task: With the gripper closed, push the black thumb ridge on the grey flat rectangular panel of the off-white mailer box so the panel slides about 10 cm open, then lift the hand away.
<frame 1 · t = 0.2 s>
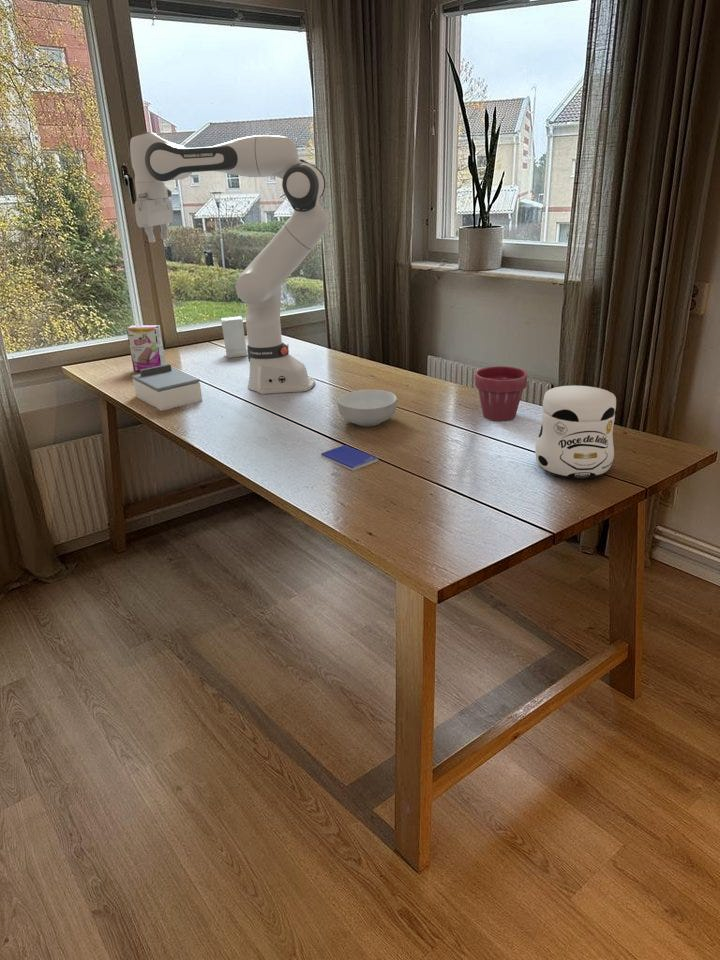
hand: (158, 240, 211), 47 cm above the table, tool pointing down, fingers open, 8 cm apart
blue book: (349, 461, 167), on the table
cereal bowl: (367, 422, 191), on the table
skincare box: (236, 356, 267), on the table
plant pot: (498, 416, 192), on the table
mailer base: (168, 398, 218), on the table
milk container: (572, 470, 157), on the table
grey flat rectangular panel: (164, 375, 215), point 8 cm above the table, slide at 0.0 cm
candy bar box: (150, 370, 251), on the table
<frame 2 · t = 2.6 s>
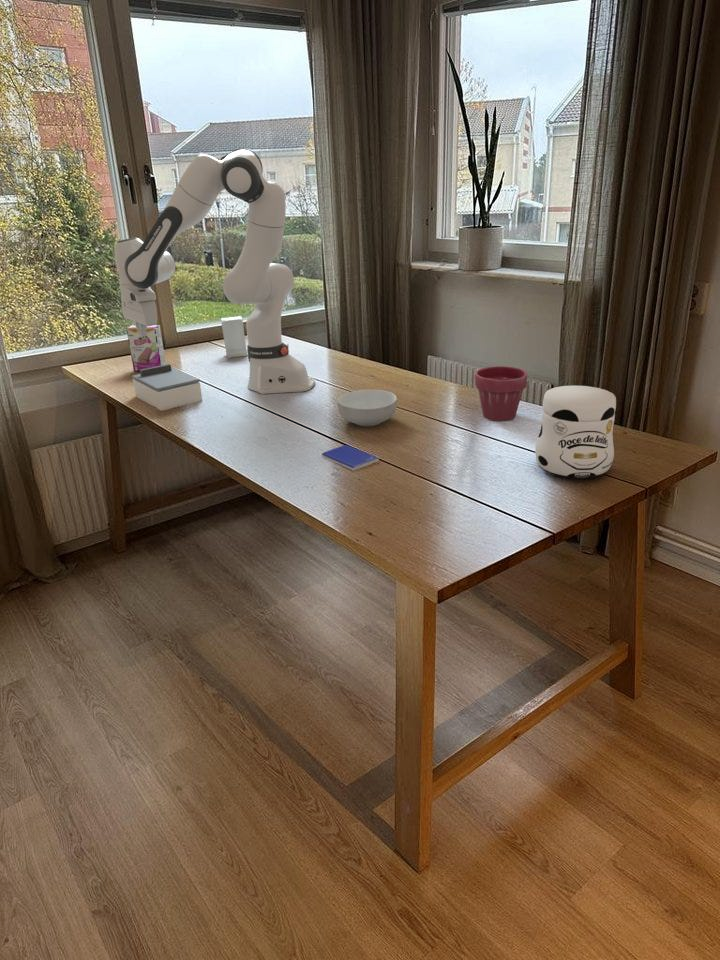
hand: (142, 335, 219), 19 cm above the table, tool pointing down, fingers closed
nothing on the table moved.
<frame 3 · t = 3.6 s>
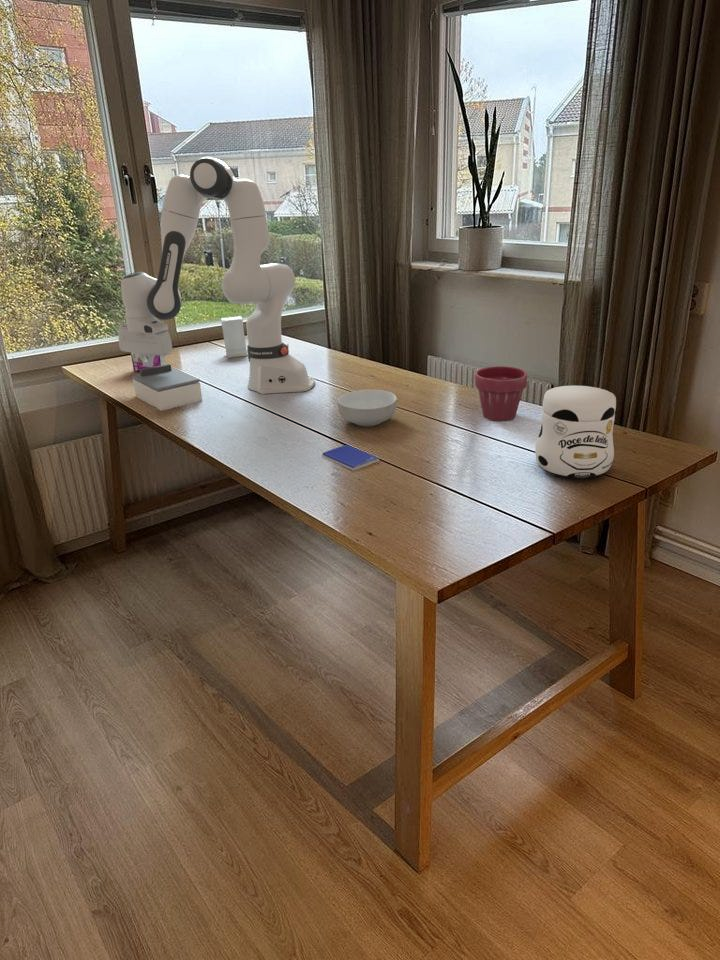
hand: (148, 366, 224), 8 cm above the table, tool pointing down, fingers closed
nothing on the table moved.
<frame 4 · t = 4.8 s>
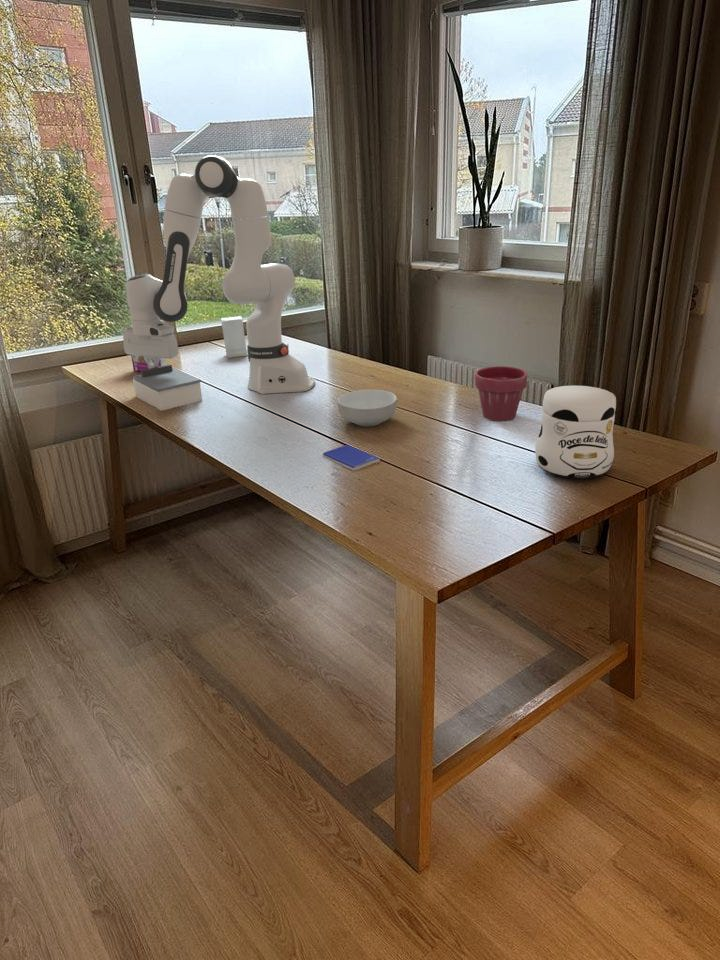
hand: (154, 369, 221), 8 cm above the table, tool pointing down, fingers closed
grey flat rectangular panel: (165, 376, 214), point 8 cm above the table, slide at 0.8 cm, touching gripper
everything else where it was.
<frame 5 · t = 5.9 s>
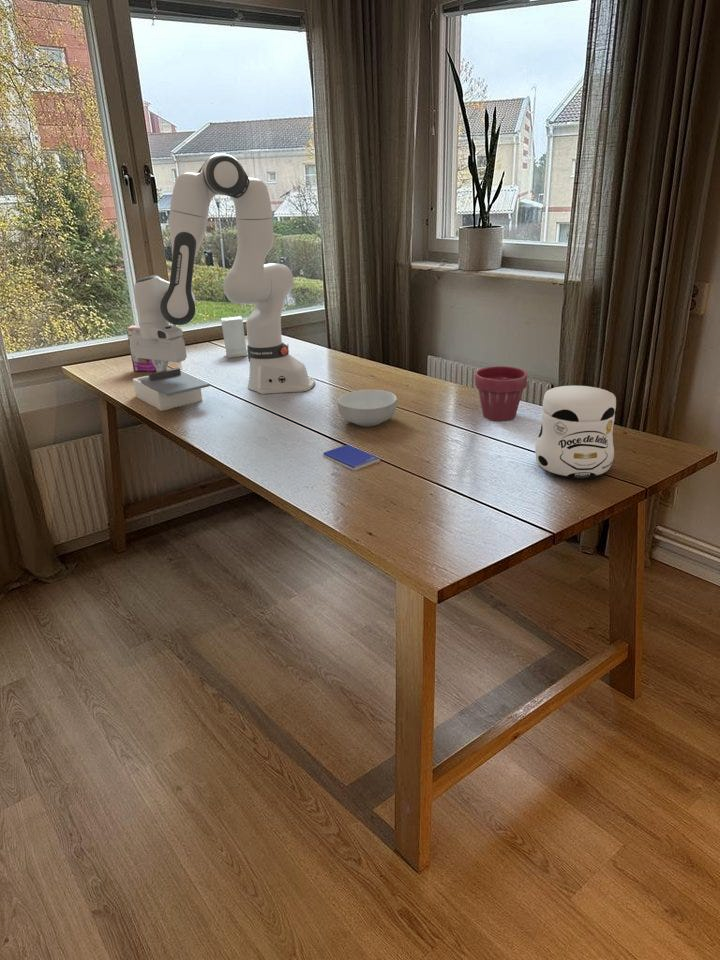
hand: (162, 373, 216), 8 cm above the table, tool pointing down, fingers closed
grey flat rectangular panel: (174, 379, 209), point 8 cm above the table, slide at 7.1 cm, touching gripper
everything else where it was.
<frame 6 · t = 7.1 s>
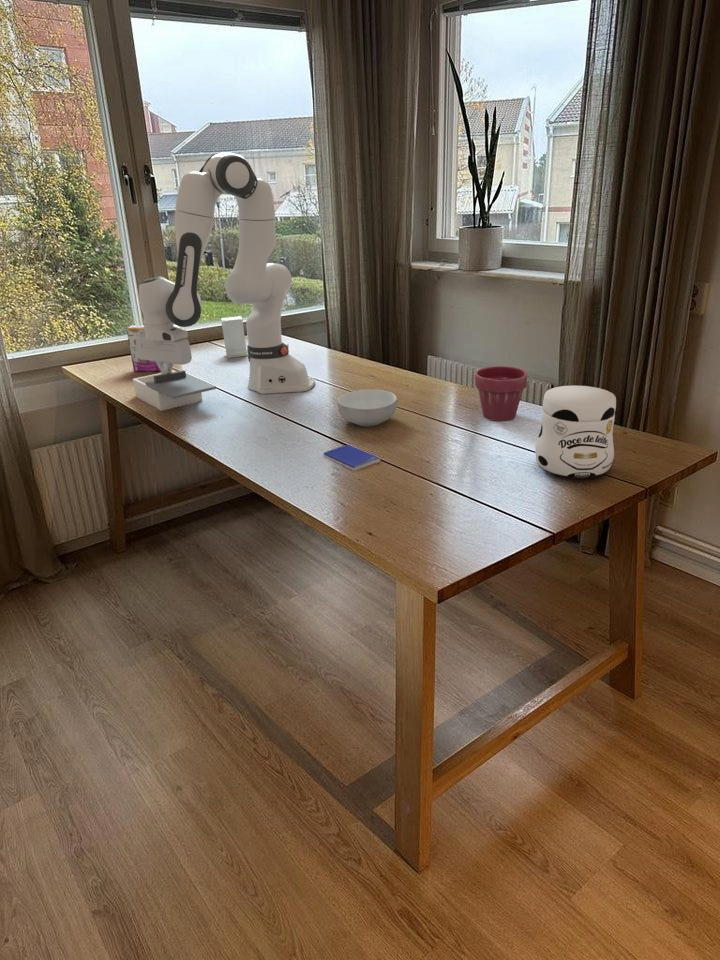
hand: (166, 375, 213), 8 cm above the table, tool pointing down, fingers closed
grey flat rectangular panel: (179, 382, 207), point 8 cm above the table, slide at 11.0 cm, touching gripper
everything else where it was.
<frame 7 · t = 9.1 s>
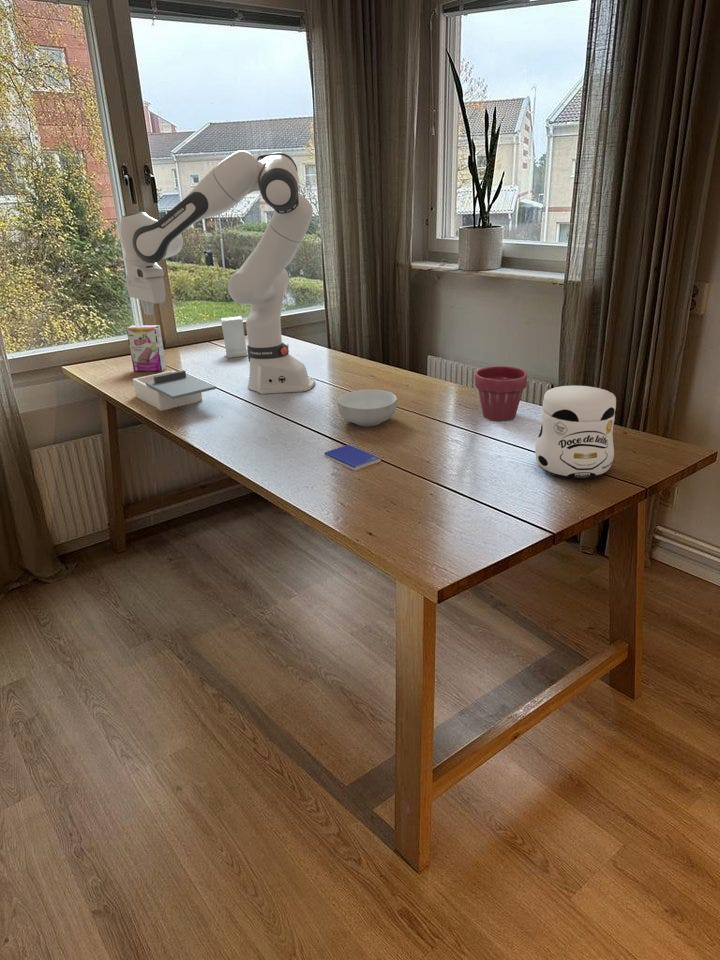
hand: (149, 314, 212), 26 cm above the table, tool pointing down, fingers closed
grey flat rectangular panel: (179, 382, 207), point 8 cm above the table, slide at 11.0 cm
everything else where it was.
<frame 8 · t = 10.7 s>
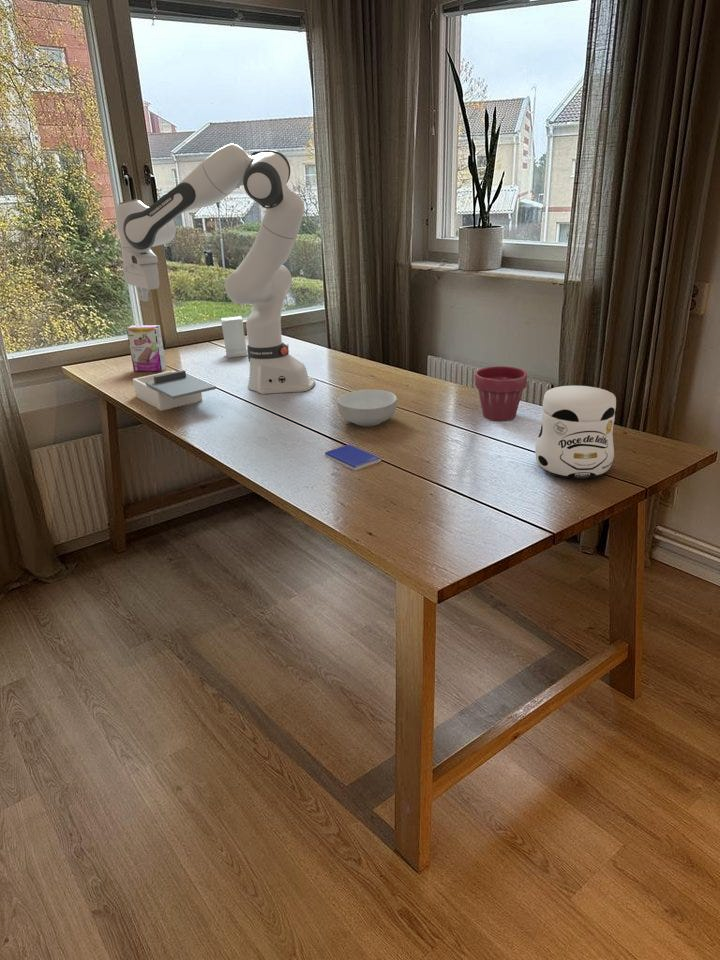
hand: (144, 300, 217), 29 cm above the table, tool pointing down, fingers closed
nothing on the table moved.
at the end: grey flat rectangular panel slide at 11.0 cm; candy bar box moved 0.2 cm from its start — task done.
